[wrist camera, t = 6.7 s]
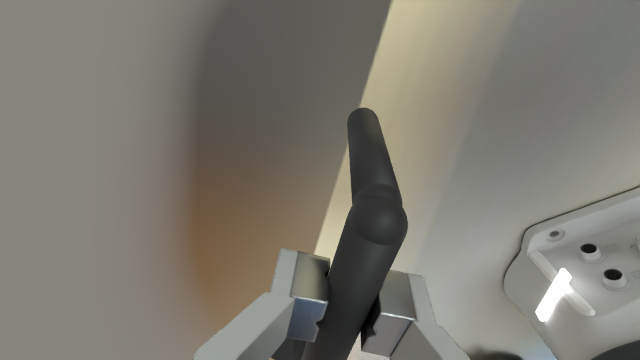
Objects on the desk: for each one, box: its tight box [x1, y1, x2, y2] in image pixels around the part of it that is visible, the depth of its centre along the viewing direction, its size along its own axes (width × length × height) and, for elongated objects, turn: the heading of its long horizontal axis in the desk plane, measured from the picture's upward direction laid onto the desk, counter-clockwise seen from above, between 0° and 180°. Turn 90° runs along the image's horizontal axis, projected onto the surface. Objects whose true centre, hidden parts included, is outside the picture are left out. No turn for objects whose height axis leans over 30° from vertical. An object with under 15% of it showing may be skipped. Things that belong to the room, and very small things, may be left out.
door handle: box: [271, 108, 408, 360], centre depth 13 cm, size 16×5×7 cm, turn 168°
